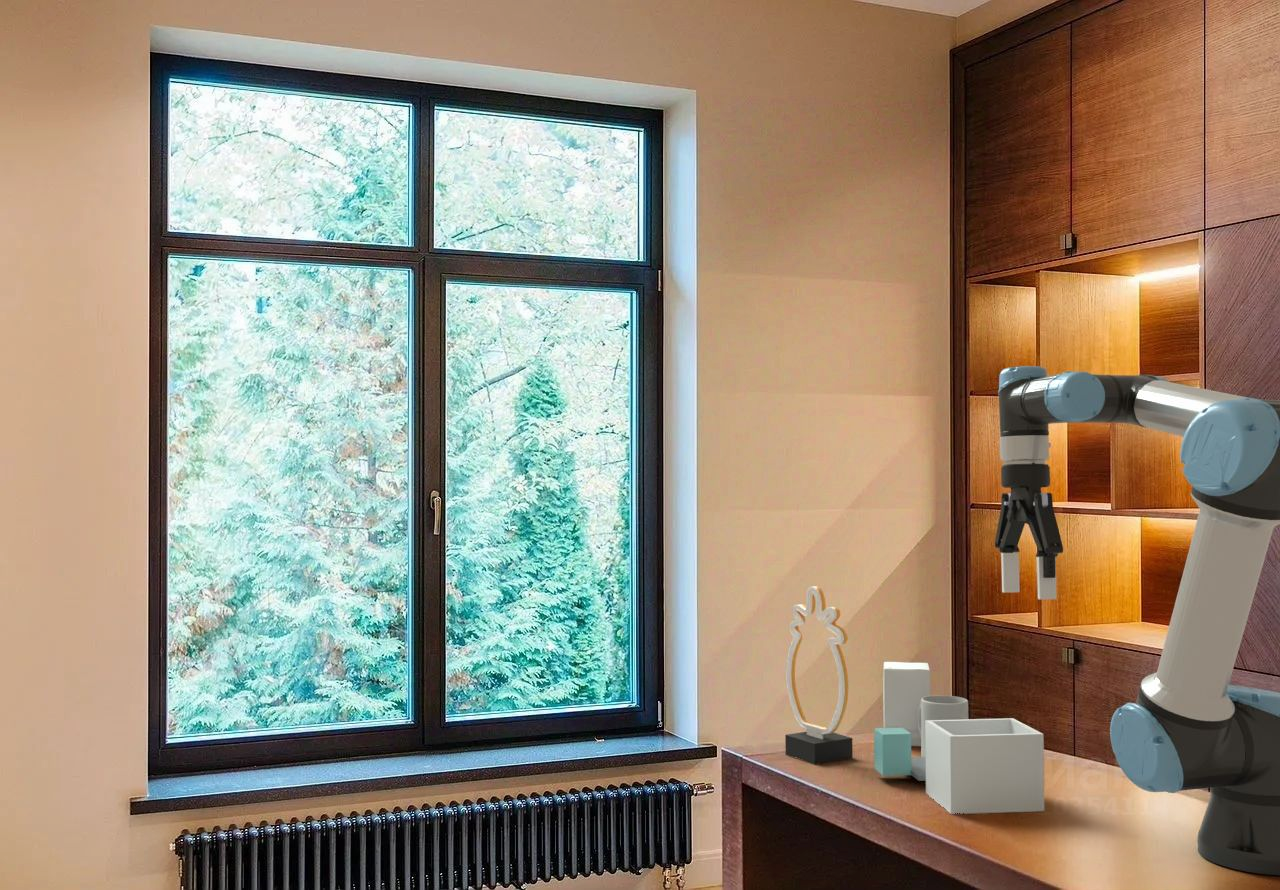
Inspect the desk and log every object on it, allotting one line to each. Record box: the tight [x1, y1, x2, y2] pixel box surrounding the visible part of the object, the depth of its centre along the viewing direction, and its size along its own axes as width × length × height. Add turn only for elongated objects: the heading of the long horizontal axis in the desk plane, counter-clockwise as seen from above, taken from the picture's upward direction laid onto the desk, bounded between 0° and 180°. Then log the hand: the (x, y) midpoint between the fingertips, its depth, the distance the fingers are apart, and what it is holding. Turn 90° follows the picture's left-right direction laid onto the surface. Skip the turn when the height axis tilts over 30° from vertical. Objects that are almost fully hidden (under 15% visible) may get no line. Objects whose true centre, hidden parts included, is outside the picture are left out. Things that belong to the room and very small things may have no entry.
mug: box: [918, 694, 969, 757], centre depth 225 cm, size 12×8×11 cm
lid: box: [873, 727, 926, 782], centre depth 210 cm, size 13×21×8 cm, turn 95°
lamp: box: [785, 585, 854, 765], centre depth 227 cm, size 17×9×32 cm, turn 30°
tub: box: [925, 717, 1045, 815], centre depth 195 cm, size 12×15×12 cm
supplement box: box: [882, 661, 931, 748], centre depth 238 cm, size 9×9×15 cm
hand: (1028, 595), depth 195 cm, fingers open, 13 cm apart
